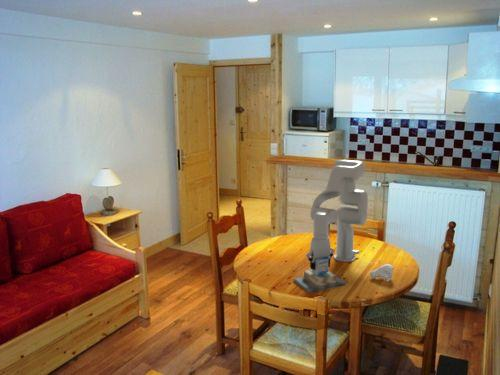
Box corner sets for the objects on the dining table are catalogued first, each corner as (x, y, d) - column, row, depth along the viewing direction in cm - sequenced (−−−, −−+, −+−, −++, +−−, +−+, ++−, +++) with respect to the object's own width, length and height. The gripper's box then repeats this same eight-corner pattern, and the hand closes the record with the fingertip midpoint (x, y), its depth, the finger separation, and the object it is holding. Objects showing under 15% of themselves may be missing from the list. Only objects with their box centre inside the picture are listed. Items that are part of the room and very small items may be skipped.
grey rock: (393, 266, 238) (369, 267, 241) (394, 282, 240) (370, 282, 243) (392, 262, 244) (369, 262, 247) (393, 277, 246) (370, 277, 249)
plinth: (328, 273, 252) (329, 263, 251) (346, 285, 238) (346, 274, 237) (293, 281, 244) (293, 270, 242) (309, 293, 229) (309, 282, 228)
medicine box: (317, 275, 236) (317, 259, 234) (311, 272, 239) (311, 257, 237) (328, 271, 240) (328, 256, 238) (322, 269, 244) (322, 253, 242)
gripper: (331, 231, 242) (330, 262, 246) (302, 236, 235) (302, 267, 239) (339, 235, 235) (338, 267, 239) (310, 240, 228) (309, 273, 232)
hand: (320, 267), depth 239 cm, fingers closed on medicine box, 8 cm apart
